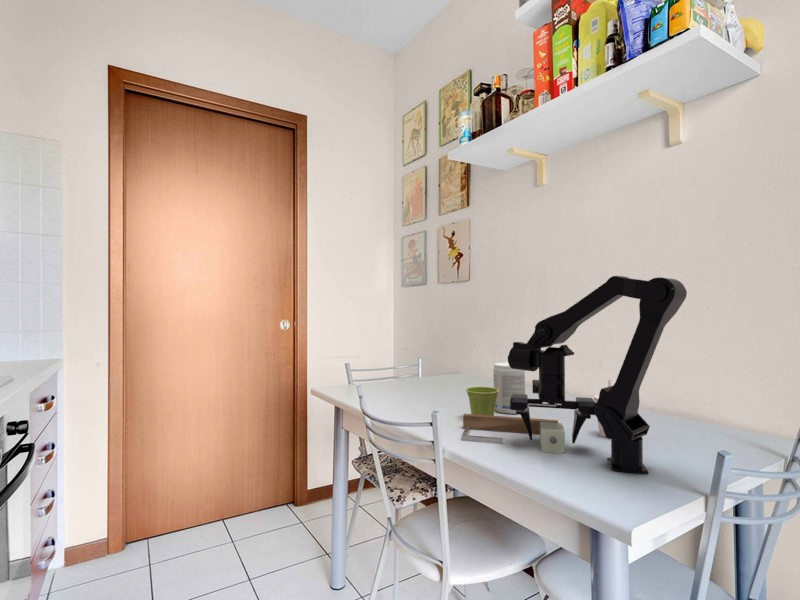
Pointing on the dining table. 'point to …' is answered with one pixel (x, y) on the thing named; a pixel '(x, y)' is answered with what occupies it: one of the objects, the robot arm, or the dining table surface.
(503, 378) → the supplement tub
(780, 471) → the dining table surface
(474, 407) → the plant pot
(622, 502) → the dining table surface
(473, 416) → the long brown board
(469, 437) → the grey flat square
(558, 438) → the pale green block
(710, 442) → the dining table surface
